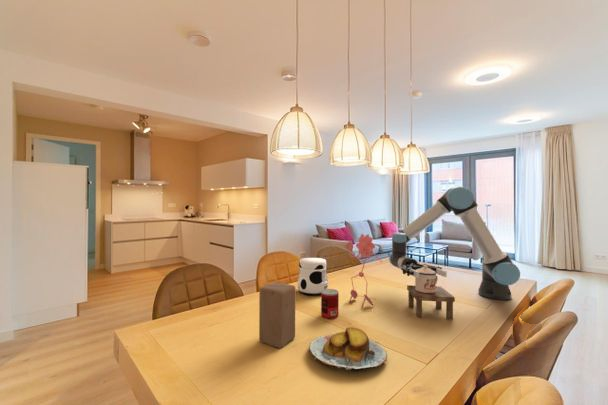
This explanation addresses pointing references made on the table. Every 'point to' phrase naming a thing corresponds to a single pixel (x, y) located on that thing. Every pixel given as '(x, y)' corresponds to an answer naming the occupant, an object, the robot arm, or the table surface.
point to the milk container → (312, 276)
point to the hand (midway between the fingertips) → (432, 274)
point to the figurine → (365, 250)
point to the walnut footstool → (437, 296)
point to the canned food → (329, 303)
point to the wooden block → (277, 314)
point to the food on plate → (348, 350)
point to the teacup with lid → (426, 280)
